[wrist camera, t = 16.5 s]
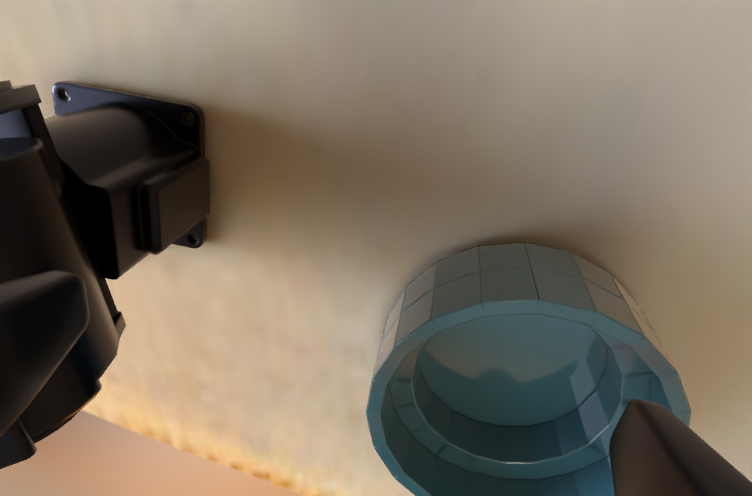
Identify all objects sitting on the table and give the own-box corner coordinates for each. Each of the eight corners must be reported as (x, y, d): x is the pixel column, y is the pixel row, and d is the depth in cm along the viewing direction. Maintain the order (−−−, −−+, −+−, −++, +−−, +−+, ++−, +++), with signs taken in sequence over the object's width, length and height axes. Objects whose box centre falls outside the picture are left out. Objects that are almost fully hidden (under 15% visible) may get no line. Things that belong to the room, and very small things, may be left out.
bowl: (370, 411, 26) (350, 493, 21) (407, 212, 21) (391, 268, 16) (590, 462, 25) (617, 560, 20) (689, 268, 20) (754, 343, 15)
